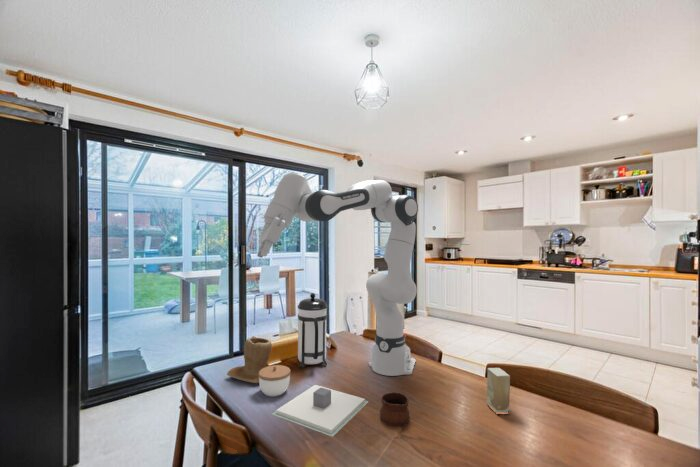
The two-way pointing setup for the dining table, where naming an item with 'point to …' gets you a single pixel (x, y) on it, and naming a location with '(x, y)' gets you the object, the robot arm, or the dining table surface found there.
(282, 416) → the mat
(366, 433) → the dining table surface
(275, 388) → the lidded jar
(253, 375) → the brown boot
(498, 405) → the skincare box
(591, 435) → the dining table surface
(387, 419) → the ceramic pot
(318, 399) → the lid
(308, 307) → the coffee press
